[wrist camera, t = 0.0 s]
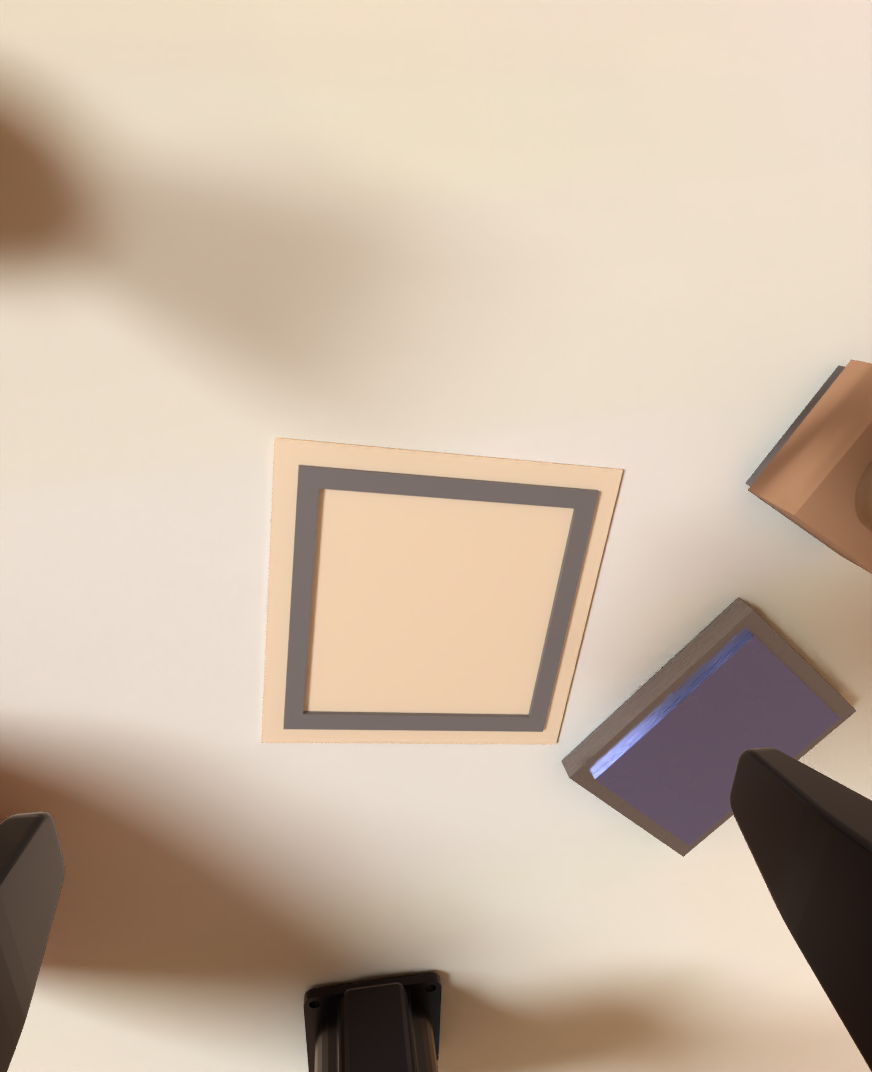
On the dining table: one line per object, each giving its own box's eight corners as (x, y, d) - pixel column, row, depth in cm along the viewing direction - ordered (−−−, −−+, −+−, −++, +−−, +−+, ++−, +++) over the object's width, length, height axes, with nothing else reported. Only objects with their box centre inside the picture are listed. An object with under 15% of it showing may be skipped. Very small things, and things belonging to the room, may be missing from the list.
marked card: (555, 742, 28) (557, 747, 27) (261, 740, 25) (261, 746, 25) (621, 469, 23) (625, 471, 23) (274, 437, 21) (274, 439, 21)
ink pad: (673, 839, 31) (686, 862, 30) (561, 761, 28) (571, 782, 27) (839, 696, 29) (861, 715, 28) (738, 597, 26) (758, 613, 25)
